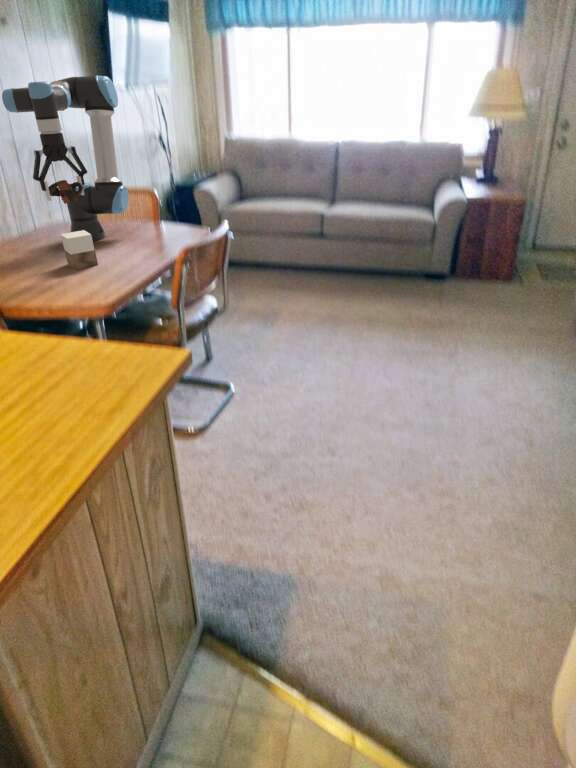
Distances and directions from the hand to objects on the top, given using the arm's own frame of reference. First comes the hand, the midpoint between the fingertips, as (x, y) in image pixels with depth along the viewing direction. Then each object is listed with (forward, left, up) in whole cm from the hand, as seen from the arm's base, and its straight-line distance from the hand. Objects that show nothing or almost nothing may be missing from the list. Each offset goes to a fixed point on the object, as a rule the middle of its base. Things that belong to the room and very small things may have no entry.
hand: (66, 197), depth 200 cm
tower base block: (-1, -1, -26) cm, 26 cm away
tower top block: (-1, -1, -20) cm, 20 cm away
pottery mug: (0, +1, -1) cm, 2 cm away
